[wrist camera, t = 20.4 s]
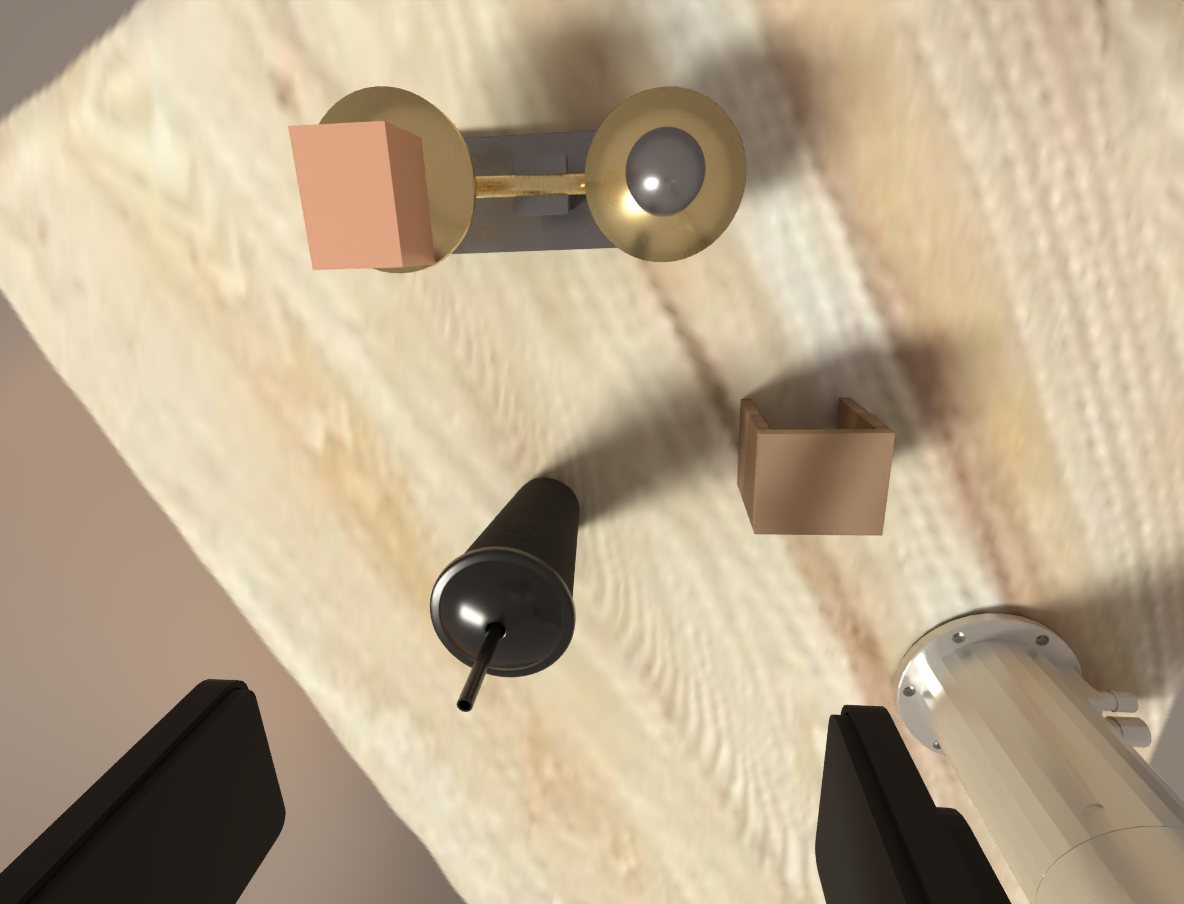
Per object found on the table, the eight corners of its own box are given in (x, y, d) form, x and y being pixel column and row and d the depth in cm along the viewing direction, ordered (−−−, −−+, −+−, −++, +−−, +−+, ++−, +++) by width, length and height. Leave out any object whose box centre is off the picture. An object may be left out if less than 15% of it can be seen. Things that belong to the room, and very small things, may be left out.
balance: (732, 110, 35) (762, 59, 25) (727, 257, 37) (752, 261, 28) (386, 132, 37) (292, 92, 27) (403, 268, 39) (323, 275, 30)
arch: (850, 398, 39) (895, 433, 32) (841, 483, 41) (882, 535, 34) (740, 399, 40) (759, 434, 33) (737, 483, 42) (754, 534, 35)
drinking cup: (545, 437, 42) (457, 592, 23) (620, 512, 43) (593, 716, 25) (473, 504, 44) (340, 694, 26) (546, 573, 46) (470, 803, 27)
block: (384, 120, 24) (402, 267, 25) (421, 137, 27) (435, 264, 29) (288, 126, 24) (313, 269, 26) (337, 142, 28) (356, 266, 30)
